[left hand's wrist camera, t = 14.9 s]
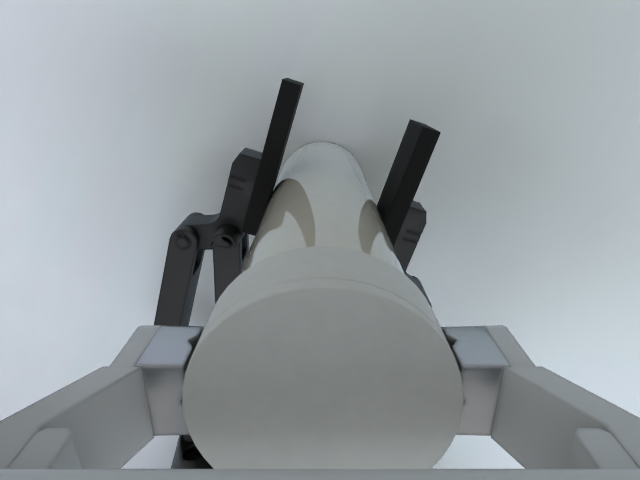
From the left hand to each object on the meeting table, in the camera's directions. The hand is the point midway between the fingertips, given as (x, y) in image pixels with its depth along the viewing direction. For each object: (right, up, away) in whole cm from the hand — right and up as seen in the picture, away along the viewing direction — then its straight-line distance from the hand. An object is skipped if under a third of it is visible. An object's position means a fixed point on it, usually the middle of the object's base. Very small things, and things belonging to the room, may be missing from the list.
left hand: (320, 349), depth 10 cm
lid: (0, -1, -2) cm, 2 cm away
